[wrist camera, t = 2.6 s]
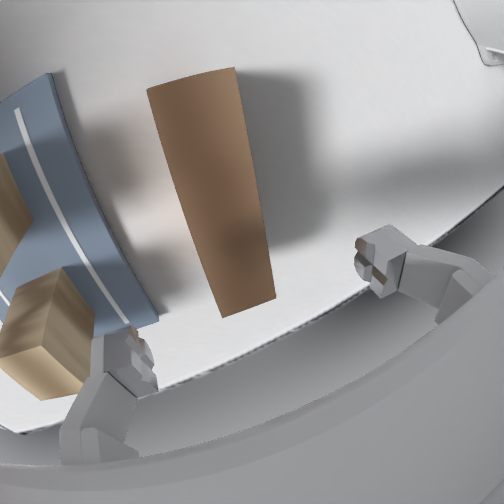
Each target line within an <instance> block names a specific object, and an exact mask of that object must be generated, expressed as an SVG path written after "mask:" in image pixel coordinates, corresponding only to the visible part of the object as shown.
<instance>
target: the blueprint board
mask: <svg viewBox="0 0 504 504" xmlns="http://www.w3.org/2000/svg"><path fill="white" fill-rule="evenodd" d="M2 153H3V154H4V156H5V159H6V161H7V164H8V166H9V169H10V171H11V173H12V176H13V178H14V180H15V182H16V185H17V187H18V189H19V191H20V193H21V195H22V197H23V199H24V202H25V204H26V206H27V208H28V209H29V211H30V213H31V215H32V217H33V219H34V221H33V222H32V224H31V225H30V227H29V228H28V230H27V232H26V233H25V235H24V237H23V238H22V240H21V242H20V243H19V245H18V247H17V248H16V250H15V252H14V254H13V255H12V257H11V259H10V261H9V263H8V265H7V267H6V269H5V270H4V272H3V274H2V276H1V278H0V320H1V321H2V322H4V320H5V317H6V314H7V311H8V308H9V306H10V303H11V300H12V298H13V295H14V293H15V290H16V288H17V287H19V286H21V285H23V284H25V283H27V282H29V281H32V280H34V279H36V278H38V277H40V276H42V275H45V274H47V273H49V272H51V271H53V270H56V269H58V268H60V267H62V268H63V270H64V271H65V273H66V274H67V276H68V277H69V279H70V280H71V281H72V283H73V284H74V286H75V287H76V289H77V290H78V291H79V293H80V294H81V296H82V297H83V298H84V300H85V301H86V302H87V304H88V305H89V306H90V308H91V309H92V310H93V312H94V313H95V322H94V334H93V337H95V336H98V335H101V334H105V333H107V332H110V331H113V330H116V329H120V328H123V327H126V326H129V325H133V326H134V327H135V328H136V329H138V328H141V327H144V326H147V325H150V324H153V323H156V322H159V315H158V313H157V311H156V310H155V308H154V307H153V305H152V303H151V302H150V300H149V298H148V297H147V295H146V293H145V292H144V290H143V288H142V287H141V285H140V283H139V281H138V280H137V278H136V276H135V274H134V273H133V271H132V269H131V267H130V265H129V264H128V262H127V260H126V258H125V256H124V254H123V252H122V251H121V249H120V247H119V245H118V243H117V241H116V239H115V237H114V235H113V233H112V231H111V229H110V227H109V225H108V223H107V221H106V219H105V217H104V215H103V212H102V210H101V208H100V206H99V204H98V202H97V200H96V197H95V195H94V193H93V191H92V188H91V186H90V184H89V181H88V179H87V177H86V174H85V172H84V169H83V167H82V164H81V162H80V159H79V157H78V154H77V152H76V149H75V146H74V144H73V141H72V138H71V135H70V133H69V130H68V127H67V124H66V121H65V118H64V115H63V112H62V109H61V106H60V102H59V99H58V96H57V92H56V89H55V85H54V81H53V78H52V74H51V73H46V74H44V75H43V76H41V77H39V78H38V79H36V80H34V81H33V82H31V83H29V84H28V85H26V86H25V87H23V88H22V89H20V90H19V91H17V92H16V93H14V94H13V95H11V96H10V97H8V98H7V99H6V100H4V101H3V102H1V103H0V155H1V154H2Z"/></svg>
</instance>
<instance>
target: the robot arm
mask: <svg viewBox="0 0 504 504" xmlns="http://www.w3.org/2000/svg"><path fill="white" fill-rule="evenodd" d="M454 1H455V4H456V6H457V8H458V11H459V13H460V15H461V17H462V19H463V21H464V23H465V25H466V27H467V29H468V30H469V32H470V33H471V35H472V37H473V38H474V40H475V41H476V43H477V46H478V49H479V52H480V55H481V58H482V60H483V62H484V64H485V65H490V66H494V65H501V64H504V0H454ZM355 248H356V249H357V250H358V252H357V254H356V255H355V257H354V265H355V268H356V271H357V273H358V275H359V276H360V277H361V278H362V279H363V280H364V281H368V282H370V288H371V289H372V290H373V291H374V292H375V293H376V294H377V295H378V296H379V297H380V298H383V297H385V296H387V295H389V294H391V293H393V292H395V291H397V290H398V291H399V292H402V293H404V294H406V295H409V296H411V297H413V298H415V299H418V300H420V301H422V302H425V303H427V304H429V305H431V306H434V307H436V308H438V309H439V310H438V312H437V314H436V316H435V322H436V323H437V324H438V326H436V327H435V328H434V329H432V330H431V331H430V332H428V333H427V334H426V335H424V336H423V337H422V338H420V339H419V340H417V341H416V342H415V343H413V344H412V345H410V346H409V347H407V348H406V349H405V350H403V351H401V352H400V353H398V354H397V355H395V356H394V357H392V358H390V359H389V360H387V361H386V362H384V363H382V364H381V365H379V366H378V367H376V368H374V369H373V370H371V371H369V372H368V373H366V374H364V375H362V376H361V377H359V378H357V379H355V380H354V381H352V382H350V383H348V384H346V385H344V386H343V387H341V388H339V389H337V390H335V391H333V392H331V393H329V394H327V395H325V396H323V397H321V398H319V399H317V400H315V401H313V402H311V403H308V404H306V405H304V406H302V407H300V408H298V409H295V410H293V411H291V412H288V413H286V414H284V415H281V416H279V417H276V418H274V419H272V420H269V421H266V422H264V423H262V424H259V425H256V426H253V427H251V428H248V429H245V430H242V431H239V432H237V433H233V434H230V435H228V436H225V437H221V438H218V439H215V440H211V441H208V442H204V443H201V444H197V445H194V446H190V447H186V448H182V449H178V450H174V451H170V452H165V453H160V454H155V455H150V456H145V457H139V453H138V451H137V450H135V449H134V448H131V447H129V446H127V445H125V444H124V441H125V437H126V434H127V431H128V427H129V424H130V421H131V418H132V415H133V412H134V409H135V406H136V403H137V400H138V399H137V398H139V397H142V396H146V395H149V394H152V393H155V392H158V385H157V379H156V375H155V374H154V372H153V371H152V368H153V366H154V360H153V356H152V353H151V350H150V348H149V346H148V344H147V343H146V341H145V340H144V339H142V338H139V337H138V331H137V330H136V328H135V327H134V326H133V325H129V326H126V327H123V328H120V329H116V330H113V331H110V332H107V333H105V334H101V335H98V336H95V337H93V339H92V344H91V369H90V377H88V378H87V379H86V380H85V382H84V384H83V386H82V388H81V390H80V391H79V393H78V395H77V397H76V399H75V401H74V403H73V405H72V406H71V408H70V410H69V412H68V414H67V416H66V418H65V420H64V422H63V424H62V426H61V428H60V430H59V440H60V459H61V465H54V466H42V465H40V466H39V465H37V466H36V465H17V464H6V463H0V504H504V267H503V268H502V269H501V270H500V271H499V273H497V275H495V276H493V275H492V274H490V273H489V272H488V271H487V270H486V269H485V268H483V267H482V266H481V265H480V264H479V263H477V262H476V261H475V260H474V259H473V258H470V257H466V256H463V255H459V254H455V253H452V252H448V251H444V250H441V249H437V248H433V247H429V246H425V245H422V244H421V245H419V246H418V245H417V244H416V243H415V242H413V241H412V240H411V239H409V238H408V237H407V236H405V235H404V234H403V233H401V232H400V231H399V230H398V229H396V228H395V227H393V226H392V225H386V226H384V227H382V228H379V229H378V230H375V231H373V232H370V233H368V234H366V235H363V236H361V237H359V238H357V240H356V242H355Z"/></svg>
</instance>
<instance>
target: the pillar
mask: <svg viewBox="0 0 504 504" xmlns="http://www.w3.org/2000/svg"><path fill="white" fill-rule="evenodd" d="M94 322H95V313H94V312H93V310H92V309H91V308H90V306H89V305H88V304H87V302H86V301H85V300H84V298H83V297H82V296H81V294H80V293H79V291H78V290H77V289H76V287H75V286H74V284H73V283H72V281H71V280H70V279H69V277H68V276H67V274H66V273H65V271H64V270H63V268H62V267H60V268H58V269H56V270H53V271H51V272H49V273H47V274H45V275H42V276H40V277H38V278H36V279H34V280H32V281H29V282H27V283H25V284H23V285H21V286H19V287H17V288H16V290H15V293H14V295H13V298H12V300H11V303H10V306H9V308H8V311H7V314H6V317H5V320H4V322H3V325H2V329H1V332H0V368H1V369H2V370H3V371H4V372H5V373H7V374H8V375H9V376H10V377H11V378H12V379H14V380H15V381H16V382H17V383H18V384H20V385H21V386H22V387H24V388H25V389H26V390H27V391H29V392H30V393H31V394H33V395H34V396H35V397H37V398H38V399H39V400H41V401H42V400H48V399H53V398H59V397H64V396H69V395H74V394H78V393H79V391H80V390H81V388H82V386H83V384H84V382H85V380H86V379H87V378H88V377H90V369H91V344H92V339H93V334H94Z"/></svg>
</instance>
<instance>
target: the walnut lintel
mask: <svg viewBox="0 0 504 504" xmlns="http://www.w3.org/2000/svg"><path fill="white" fill-rule="evenodd" d="M146 91H147V95H148V98H149V102H150V106H151V109H152V113H153V116H154V120H155V123H156V127H157V130H158V134H159V137H160V140H161V144H162V147H163V150H164V154H165V157H166V160H167V163H168V167H169V170H170V173H171V176H172V179H173V182H174V186H175V189H176V192H177V195H178V198H179V201H180V204H181V207H182V210H183V213H184V216H185V219H186V221H187V224H188V227H189V230H190V233H191V236H192V239H193V241H194V244H195V247H196V250H197V253H198V255H199V258H200V261H201V264H202V266H203V269H204V272H205V274H206V277H207V280H208V282H209V285H210V288H211V290H212V293H213V295H214V298H215V301H216V303H217V306H218V308H219V311H220V313H221V316H222V318H224V317H227V316H230V315H233V314H235V313H238V312H241V311H244V310H246V309H249V308H252V307H254V306H257V305H260V304H262V303H265V302H268V301H270V300H273V299H275V298H276V293H275V287H274V281H273V275H272V269H271V263H270V257H269V251H268V245H267V239H266V233H265V228H264V222H263V216H262V211H261V205H260V199H259V194H258V188H257V183H256V177H255V172H254V166H253V161H252V155H251V150H250V145H249V139H248V134H247V129H246V124H245V118H244V113H243V108H242V103H241V98H240V93H239V88H238V83H237V78H236V73H235V68H234V67H232V68H226V69H220V70H215V71H210V72H205V73H201V74H197V75H193V76H189V77H185V78H181V79H178V80H174V81H171V82H167V83H164V84H161V85H157V86H154V87H151V88H148V89H147V90H146Z"/></svg>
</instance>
